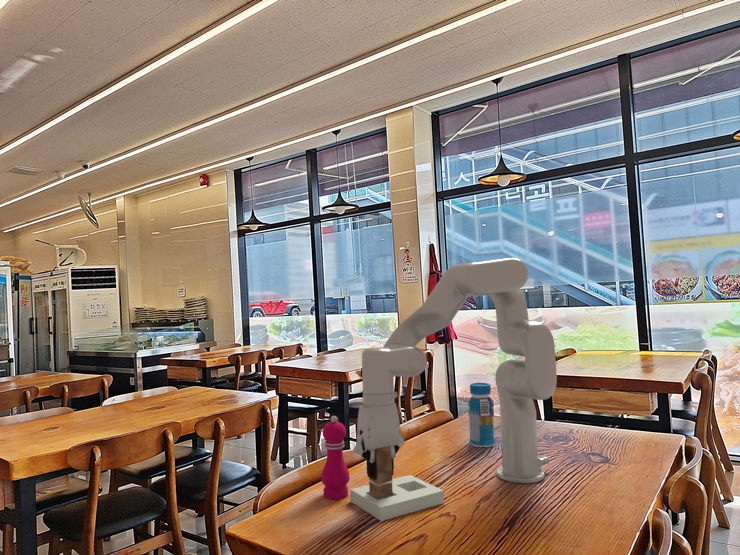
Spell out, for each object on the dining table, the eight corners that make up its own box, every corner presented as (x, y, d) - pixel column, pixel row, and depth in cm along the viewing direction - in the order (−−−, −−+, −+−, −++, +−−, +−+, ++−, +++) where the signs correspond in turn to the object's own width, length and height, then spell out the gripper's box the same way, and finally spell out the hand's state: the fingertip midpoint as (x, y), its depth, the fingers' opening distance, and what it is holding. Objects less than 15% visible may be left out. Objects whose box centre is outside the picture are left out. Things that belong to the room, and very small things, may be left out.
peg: (383, 489, 132) (382, 439, 132) (392, 494, 128) (391, 443, 128) (369, 492, 129) (367, 442, 130) (378, 498, 126) (376, 446, 126)
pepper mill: (346, 501, 133) (344, 419, 133) (318, 499, 134) (316, 419, 135) (353, 490, 140) (350, 413, 140) (326, 489, 141) (324, 412, 142)
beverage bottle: (465, 446, 177) (463, 385, 178) (474, 440, 184) (472, 381, 185) (490, 449, 173) (488, 386, 174) (498, 443, 180) (496, 383, 181)
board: (410, 486, 142) (410, 474, 142) (444, 503, 130) (443, 490, 130) (350, 501, 132) (350, 489, 132) (381, 521, 120) (380, 507, 120)
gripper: (398, 393, 137) (400, 465, 136) (340, 401, 128) (342, 478, 128) (415, 397, 131) (418, 473, 130) (356, 406, 122) (358, 488, 121)
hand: (380, 475), depth 129 cm, fingers closed on peg, 4 cm apart
